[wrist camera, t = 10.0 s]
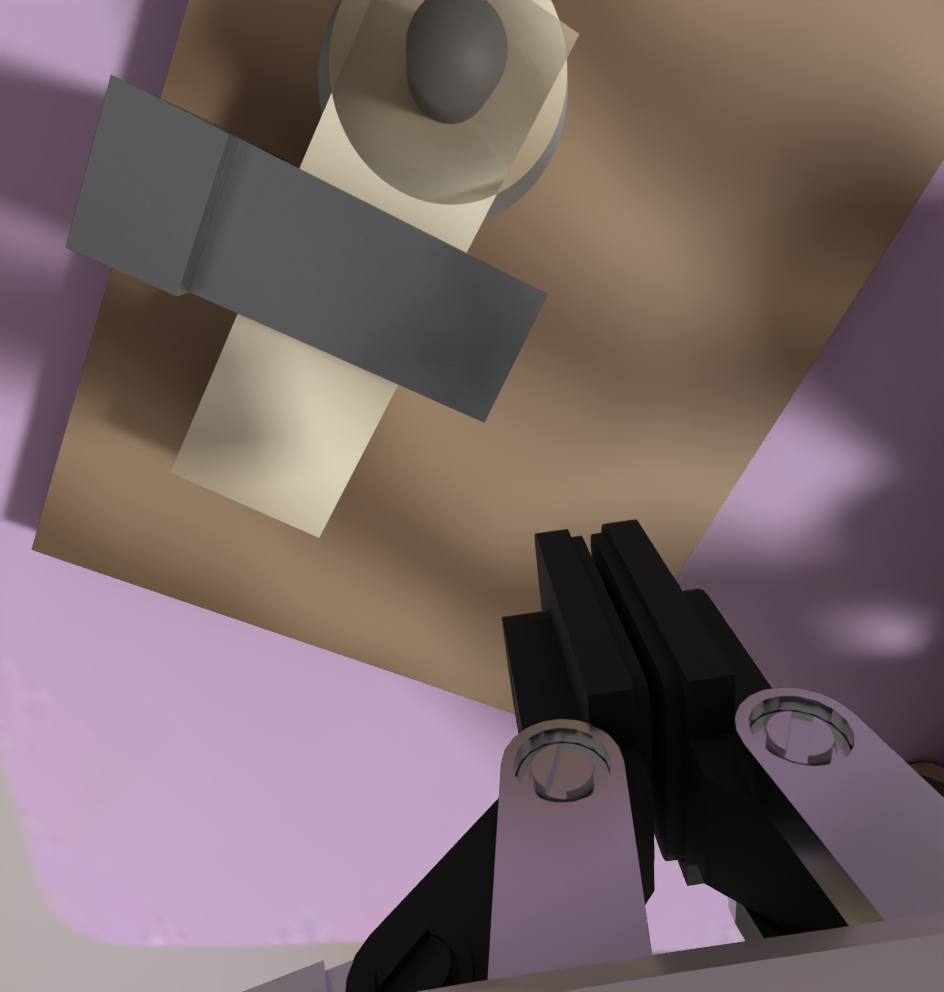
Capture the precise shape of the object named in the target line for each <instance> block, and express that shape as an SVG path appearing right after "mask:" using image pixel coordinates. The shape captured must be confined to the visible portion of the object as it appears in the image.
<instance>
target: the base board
mask: <svg viewBox="0 0 944 992" xmlns="http://www.w3.org/2000/svg"><path fill="white" fill-rule="evenodd" d="M551 1H552V3H553V5H554V8H555V10H556V13H557V16H558V18H559V20H560V21H561V22H563V23H564V24H566V25H567V26H568V27H570V28H571V29H573V30H574V31H576V32H577V33H578V34H579V36H578V38H577V40H576V42H575V44H574V46H573V48H572V50H571V52H570V54H569V56H568V57H567V85H566V94H565V99H564V104H563V109H562V112H561V116H560V119H559V122H558V125H557V127H556V130H555V132H554V134H553V136H552V138H551V141H550V142H549V144H548V146H547V147H546V149H545V151H544V152H543V154H542V155H541V157H540V158H539V159H538V160H537V162H536V163H535V164H534V166H533V167H532V168H531V169H530V170H529V171H528V172H527V173H526V174H525V175H524V176H523V177H522V178H521V179H519V180H518V181H517V182H515V183H514V184H513V185H511V186H510V187H509V188H507V189H505V190H503V191H502V192H500V193H498V194H497V195H496V197H495V199H494V201H493V203H492V204H491V206H490V208H489V210H488V212H487V214H486V216H485V218H484V220H483V222H482V224H481V226H480V228H479V230H478V232H477V234H476V235H475V237H474V239H473V241H472V243H471V245H470V247H469V249H468V251H467V253H469V254H471V255H473V256H475V257H477V258H479V259H481V260H483V261H485V262H487V263H489V264H490V265H492V266H494V267H496V268H498V269H500V270H502V271H504V272H506V273H508V274H510V275H512V276H514V277H516V278H518V279H520V280H522V281H524V282H526V283H528V284H530V285H532V286H534V287H536V288H538V289H540V290H542V291H543V292H545V293H547V294H548V296H547V298H546V300H545V302H544V304H543V306H542V308H541V310H540V312H539V314H538V316H537V318H536V320H535V322H534V324H533V326H532V328H531V330H530V332H529V334H528V336H527V338H526V340H525V342H524V344H523V346H522V348H521V350H520V352H519V354H518V356H517V358H516V360H515V362H514V364H513V366H512V368H511V370H510V372H509V374H508V376H507V378H506V380H505V382H504V384H503V386H502V388H501V390H500V392H499V395H498V397H497V399H496V401H495V403H494V405H493V407H492V409H491V411H490V413H489V415H488V417H487V419H486V421H485V423H483V422H481V421H479V420H477V419H474V418H472V417H470V416H468V415H465V414H463V413H461V412H459V411H456V410H454V409H452V408H450V407H447V406H445V405H443V404H441V403H438V402H436V401H434V400H432V399H429V398H427V397H425V396H423V395H420V394H418V393H416V392H414V391H411V390H409V389H407V388H405V387H402V386H400V385H398V386H397V388H396V390H395V392H394V394H393V396H392V398H391V400H390V402H389V404H388V406H387V408H386V410H385V411H384V413H383V415H382V417H381V419H380V421H379V423H378V425H377V427H376V429H375V431H374V433H373V435H372V437H371V439H370V440H369V442H368V444H367V446H366V448H365V450H364V452H363V454H362V456H361V458H360V460H359V462H358V464H357V466H356V468H355V469H354V471H353V473H352V475H351V477H350V479H349V481H348V483H347V485H346V487H345V489H344V491H343V493H342V495H341V497H340V499H339V500H338V502H337V504H336V506H335V508H334V510H333V512H332V514H331V516H330V518H329V520H328V522H327V524H326V526H325V528H324V529H323V531H322V533H321V535H320V537H319V538H318V537H316V536H314V535H311V534H309V533H307V532H305V531H302V530H300V529H298V528H296V527H293V526H291V525H289V524H286V523H284V522H282V521H280V520H277V519H275V518H273V517H270V516H268V515H266V514H264V513H261V512H259V511H257V510H254V509H252V508H250V507H248V506H245V505H243V504H241V503H238V502H236V501H234V500H232V499H229V498H227V497H225V496H223V495H220V494H218V493H216V492H213V491H211V490H209V489H207V488H204V487H202V486H200V485H197V484H195V483H193V482H191V481H188V480H186V479H184V478H181V477H179V476H177V475H175V474H172V473H170V472H171V470H172V468H173V465H174V463H175V461H176V458H177V456H178V453H179V451H180V449H181V446H182V444H183V442H184V439H185V437H186V435H187V432H188V430H189V428H190V425H191V423H192V421H193V418H194V416H195V413H196V411H197V409H198V406H199V404H200V402H201V399H202V397H203V395H204V392H205V390H206V388H207V385H208V383H209V380H210V378H211V376H212V373H213V371H214V369H215V366H216V364H217V362H218V359H219V357H220V355H221V352H222V350H223V347H224V345H225V343H226V340H227V338H228V336H229V333H230V331H231V329H232V326H233V324H234V322H235V319H236V317H237V314H238V313H236V312H233V311H231V310H229V309H227V308H224V307H222V306H220V305H218V304H215V303H213V302H211V301H209V300H206V299H204V298H202V297H200V296H197V295H195V294H193V293H191V292H188V293H185V294H182V295H179V296H175V295H172V294H170V293H168V292H166V291H163V290H161V289H159V288H157V287H154V286H152V285H150V284H148V283H145V282H143V281H141V280H138V279H136V278H134V277H132V276H129V275H127V274H125V273H123V272H120V271H118V270H116V269H113V268H112V269H111V273H110V276H109V280H108V283H107V287H106V290H105V294H104V297H103V301H102V304H101V308H100V311H99V315H98V318H97V322H96V325H95V329H94V332H93V336H92V339H91V343H90V346H89V350H88V353H87V357H86V360H85V364H84V367H83V371H82V374H81V378H80V381H79V385H78V388H77V392H76V395H75V399H74V402H73V406H72V409H71V413H70V416H69V420H68V423H67V427H66V430H65V434H64V437H63V441H62V444H61V448H60V451H59V455H58V458H57V462H56V465H55V469H54V472H53V476H52V479H51V483H50V486H49V490H48V493H47V497H46V500H45V504H44V507H43V511H42V514H41V518H40V521H39V525H38V528H37V532H36V536H35V539H34V543H33V546H32V550H34V551H37V552H40V553H42V554H45V555H48V556H51V557H54V558H57V559H60V560H63V561H66V562H69V563H72V564H75V565H78V566H81V567H84V568H87V569H90V570H93V571H95V572H98V573H101V574H104V575H107V576H110V577H113V578H116V579H119V580H122V581H125V582H128V583H131V584H134V585H137V586H140V587H143V588H146V589H149V590H151V591H154V592H157V593H160V594H163V595H166V596H169V597H172V598H175V599H178V600H181V601H184V602H187V603H190V604H193V605H196V606H199V607H202V608H204V609H207V610H210V611H213V612H216V613H219V614H222V615H225V616H228V617H231V618H234V619H237V620H240V621H243V622H246V623H249V624H252V625H255V626H258V627H260V628H263V629H266V630H269V631H272V632H275V633H278V634H281V635H284V636H287V637H290V638H293V639H296V640H299V641H302V642H305V643H308V644H311V645H314V646H316V647H319V648H322V649H325V650H328V651H331V652H334V653H337V654H340V655H343V656H346V657H349V658H352V659H355V660H358V661H361V662H364V663H367V664H369V665H372V666H375V667H378V668H381V669H384V670H387V671H390V672H393V673H396V674H399V675H402V676H405V677H408V678H411V679H414V680H417V681H420V682H423V683H425V684H428V685H431V686H434V687H437V688H440V689H443V690H446V691H449V692H452V693H455V694H458V695H461V696H464V697H467V698H470V699H473V700H476V701H478V702H481V703H484V704H487V705H490V706H493V707H496V708H499V709H502V710H505V711H508V712H511V713H514V714H515V710H514V704H513V698H512V691H511V685H510V678H509V671H508V664H507V656H506V649H505V641H504V633H503V625H502V617H505V616H512V615H519V614H526V613H533V612H540V611H542V610H541V600H540V590H539V580H538V570H537V560H536V551H535V533H542V532H549V531H556V530H563V529H568V530H569V532H570V535H571V537H575V536H582V537H583V539H584V541H585V543H586V545H587V547H588V550H589V552H590V554H591V543H590V538H591V534H596V533H601V527H602V524H605V523H612V522H619V521H626V520H633V519H637V521H638V522H639V523H640V525H641V526H642V528H643V529H644V531H645V533H646V534H647V536H648V537H649V539H650V540H651V542H652V544H653V545H654V547H655V548H656V550H657V552H658V553H659V555H660V556H661V558H662V559H663V561H664V563H665V564H666V566H667V567H668V569H669V570H670V572H671V574H672V575H673V577H674V578H676V576H677V575H678V573H679V571H680V570H681V568H682V567H683V565H684V564H685V562H686V561H687V559H688V557H689V556H690V554H691V553H692V551H693V550H694V548H695V547H696V545H697V543H698V542H699V540H700V539H701V537H702V536H703V534H704V532H705V531H706V529H707V528H708V526H709V525H710V523H711V522H712V520H713V518H714V517H715V515H716V514H717V512H718V511H719V509H720V508H721V506H722V504H723V503H724V501H725V500H726V498H727V497H728V495H729V494H730V492H731V490H732V489H733V487H734V486H735V484H736V483H737V481H738V480H739V478H740V476H741V475H742V473H743V472H744V470H745V469H746V467H747V465H748V464H749V462H750V461H751V459H752V458H753V456H754V455H755V453H756V451H757V450H758V448H759V447H760V445H761V444H762V442H763V441H764V439H765V437H766V436H767V434H768V433H769V431H770V430H771V428H772V427H773V425H774V423H775V422H776V420H777V419H778V417H779V416H780V414H781V412H782V411H783V409H784V408H785V406H786V405H787V403H788V402H789V400H790V398H791V397H792V395H793V394H794V392H795V391H796V389H797V388H798V386H799V384H800V383H801V381H802V380H803V378H804V377H805V375H806V374H807V372H808V370H809V369H810V367H811V366H812V364H813V363H814V361H815V360H816V358H817V356H818V355H819V353H820V352H821V350H822V349H823V347H824V345H825V344H826V342H827V341H828V339H829V338H830V336H831V335H832V333H833V331H834V330H835V328H836V327H837V325H838V324H839V322H840V321H841V319H842V317H843V316H844V314H845V313H846V311H847V310H848V308H849V307H850V305H851V303H852V302H853V300H854V299H855V297H856V296H857V294H858V292H859V291H860V289H861V288H862V286H863V285H864V283H865V282H866V280H867V278H868V277H869V275H870V274H871V272H872V271H873V269H874V268H875V266H876V264H877V263H878V261H879V260H880V258H881V257H882V255H883V254H884V252H885V250H886V249H887V247H888V246H889V244H890V243H891V241H892V239H893V238H894V236H895V235H896V233H897V232H898V230H899V229H900V227H901V225H902V224H903V222H904V221H905V219H906V218H907V216H908V215H909V213H910V211H911V210H912V208H913V207H914V205H915V204H916V202H917V201H918V199H919V197H920V196H921V194H922V193H923V191H924V190H925V188H926V187H927V185H928V183H929V182H930V180H931V179H932V177H933V176H934V174H935V172H936V171H937V169H938V168H939V166H940V165H941V163H942V162H943V160H944V0H551ZM341 2H342V0H188V3H187V7H186V10H185V14H184V17H183V21H182V24H181V28H180V31H179V35H178V38H177V42H176V45H175V49H174V52H173V56H172V59H171V63H170V66H169V70H168V73H167V77H166V80H165V84H164V87H163V91H162V94H161V98H162V99H164V100H166V101H169V102H171V103H173V104H175V105H177V106H179V107H181V108H183V109H186V110H188V111H190V112H192V113H194V114H196V115H198V116H201V117H203V118H205V119H207V120H209V121H211V122H213V123H215V124H217V125H219V126H221V127H223V128H225V129H227V130H229V131H230V132H232V133H234V134H236V135H238V136H240V137H242V138H244V139H246V140H248V141H250V142H252V143H254V144H256V145H258V146H260V147H262V148H264V149H266V150H268V151H270V152H272V153H274V154H276V155H278V156H280V157H282V158H283V159H282V160H284V161H286V162H288V163H290V164H292V165H294V166H296V167H298V168H300V166H301V164H302V161H303V159H304V157H305V154H306V152H307V150H308V147H309V145H310V143H311V140H312V138H313V135H314V133H315V131H316V128H317V126H318V124H319V121H320V119H321V117H322V114H323V112H324V110H325V107H326V105H327V102H328V100H329V98H330V95H331V93H332V92H331V85H330V78H329V51H330V40H331V35H332V30H333V25H334V21H335V18H336V15H337V12H338V9H339V6H340V4H341Z"/></svg>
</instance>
